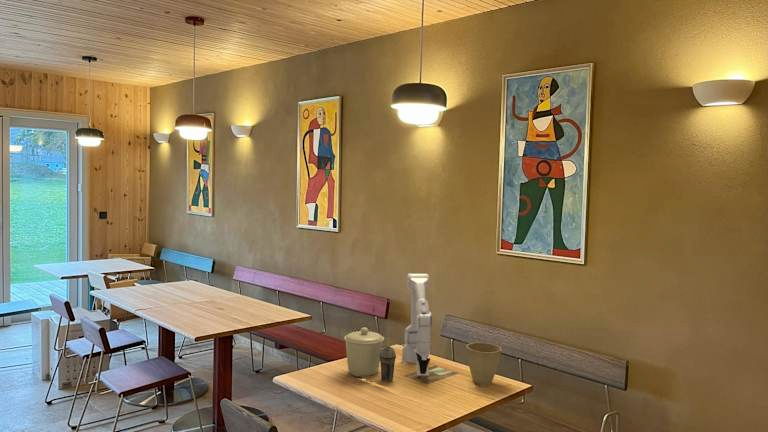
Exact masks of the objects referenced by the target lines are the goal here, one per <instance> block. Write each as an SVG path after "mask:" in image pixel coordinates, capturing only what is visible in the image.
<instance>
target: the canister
mask: <svg viewBox="0 0 768 432" xmlns="http://www.w3.org/2000/svg"><path fill="white" fill-rule="evenodd" d="M343 339H344V341H345V350H346V351H345V352H346V360H347V361H346V362H347V363H346V364H347V369H348V372H349V374H350V375H352V376H354V377H359V378H361V377H364V376H365V377H368V376H373V375H377V373H379V370H380V369H379V368H380V365H381V362H380V357H379V355H380V352H381V350H382V349H383V342H384V340H385V337H384V336H383V335H381V334H380V333H377V332H374V331H370V330H369V329H368V328H367V327H365V326H364V327H362V328H360V331H352V332H350V333H348V334H346V335H345V336H344V337H343Z"/></svg>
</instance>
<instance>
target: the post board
mask: <svg viewBox="0 0 768 432" xmlns="http://www.w3.org/2000/svg"><path fill="white" fill-rule="evenodd" d="M458 374H459V372H457V371H453V370H450V369H447V368H443V367H440V366H437V365H433V366H429V376H427V375H417V372H416V371H414V372H411V373H408V374H405V375H403V377H405V378H408V379H411V380H413V381H416V382H419V383H422V384H426V385H429V384H432V383H435V382H438V381H441V380H444V379H446V378H448V377H449V378H450V377H452V376H455V375H458Z"/></svg>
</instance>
